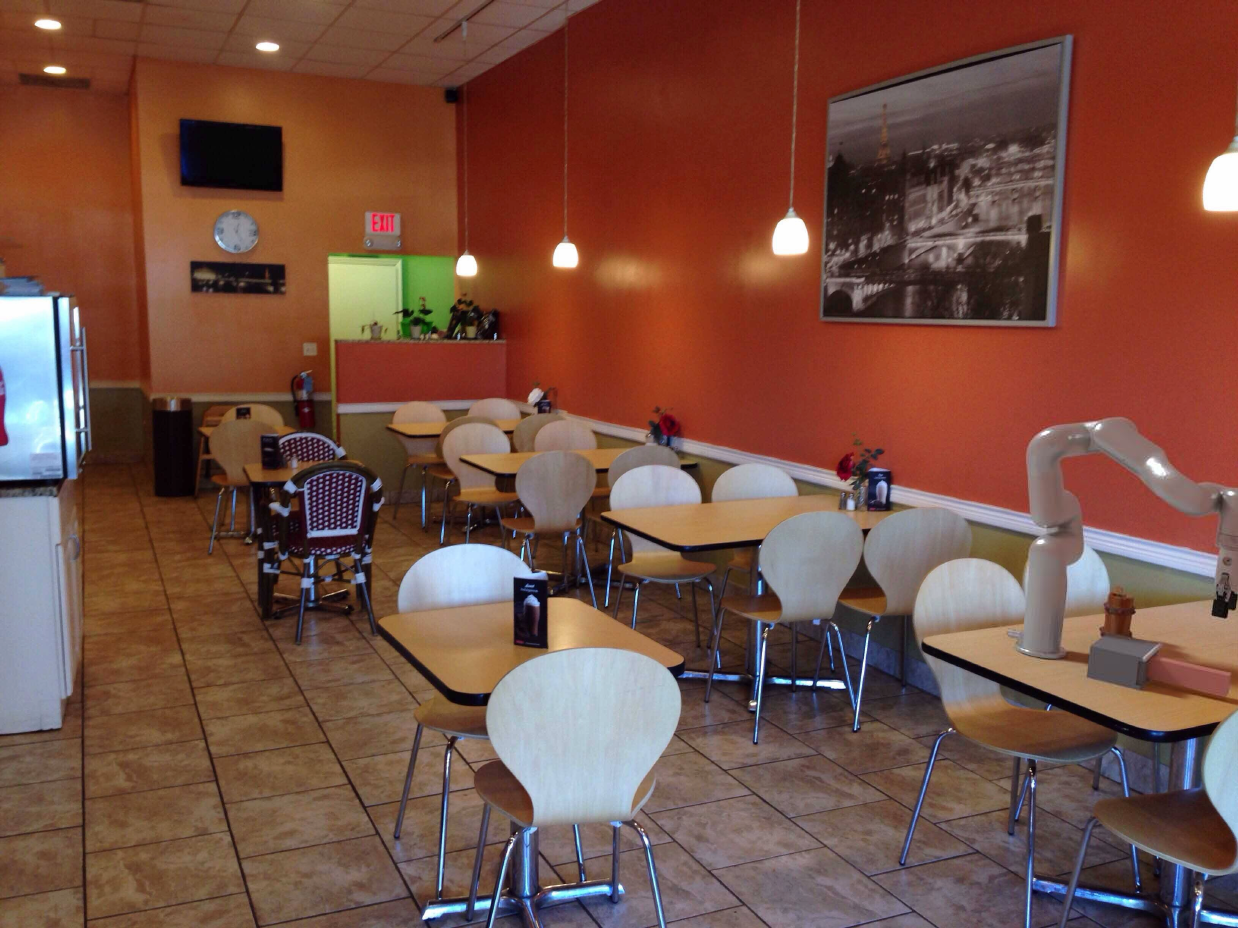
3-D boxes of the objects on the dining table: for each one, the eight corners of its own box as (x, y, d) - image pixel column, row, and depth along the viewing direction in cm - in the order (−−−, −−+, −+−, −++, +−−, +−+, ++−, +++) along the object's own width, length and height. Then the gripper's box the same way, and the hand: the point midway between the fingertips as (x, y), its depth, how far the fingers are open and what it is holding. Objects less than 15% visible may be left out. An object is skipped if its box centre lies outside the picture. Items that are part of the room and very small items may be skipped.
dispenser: (1086, 676, 255) (1090, 644, 254) (1104, 662, 267) (1108, 631, 266) (1142, 690, 247) (1146, 657, 246) (1158, 674, 259) (1162, 643, 258)
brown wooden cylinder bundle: (1133, 652, 276) (1140, 598, 274) (1099, 648, 279) (1106, 593, 277) (1127, 637, 290) (1133, 585, 288) (1095, 633, 293) (1101, 581, 290)
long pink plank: (1142, 676, 253) (1145, 656, 252) (1145, 673, 255) (1148, 653, 254) (1226, 696, 242) (1229, 675, 241) (1228, 693, 244) (1231, 672, 243)
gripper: (1245, 550, 231) (1234, 624, 234) (1259, 539, 244) (1248, 609, 247) (1208, 543, 236) (1197, 616, 238) (1223, 533, 249) (1213, 602, 252)
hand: (1223, 612), depth 243 cm, fingers open, 9 cm apart
